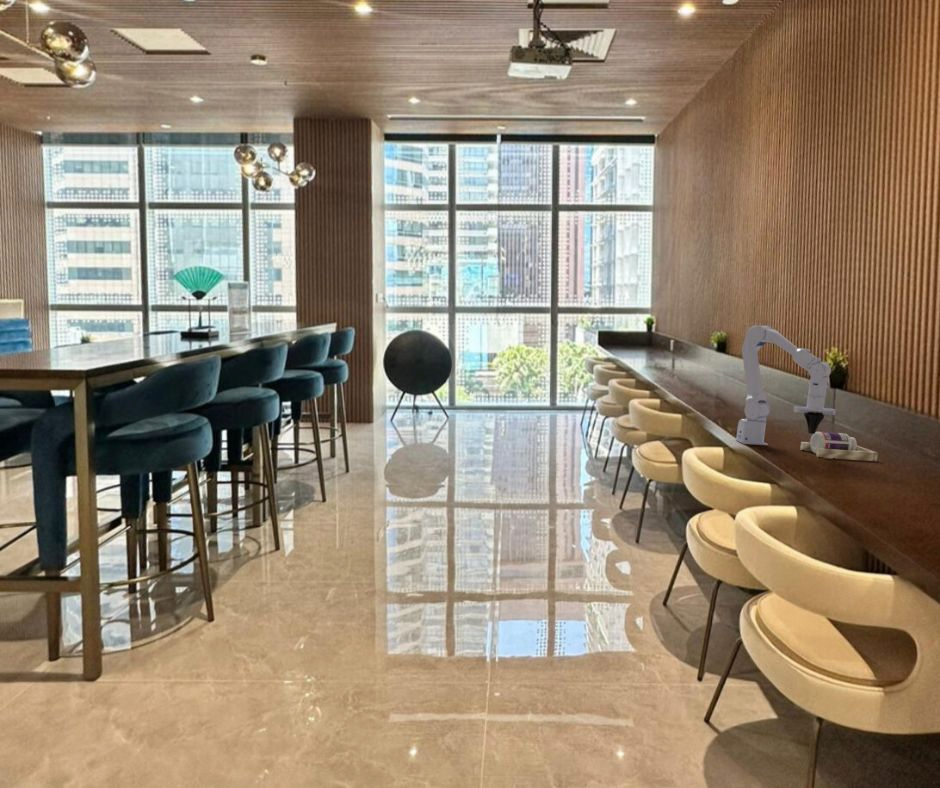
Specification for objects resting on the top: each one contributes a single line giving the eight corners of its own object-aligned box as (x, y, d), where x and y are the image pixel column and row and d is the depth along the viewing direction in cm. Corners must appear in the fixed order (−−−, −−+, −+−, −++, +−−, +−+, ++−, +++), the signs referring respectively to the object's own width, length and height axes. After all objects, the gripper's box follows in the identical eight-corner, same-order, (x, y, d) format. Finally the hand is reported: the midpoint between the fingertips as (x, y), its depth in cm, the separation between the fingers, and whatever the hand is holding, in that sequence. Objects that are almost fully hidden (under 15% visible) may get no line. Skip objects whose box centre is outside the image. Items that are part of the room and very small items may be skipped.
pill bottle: (809, 454, 285) (845, 457, 287) (821, 452, 277) (859, 455, 279) (808, 432, 286) (844, 435, 288) (821, 430, 278) (858, 432, 280)
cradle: (818, 457, 275) (819, 449, 275) (800, 449, 288) (801, 441, 288) (876, 461, 277) (877, 452, 277) (855, 453, 290) (857, 445, 289)
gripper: (802, 396, 274) (797, 434, 276) (842, 398, 275) (837, 436, 277) (792, 393, 281) (788, 430, 283) (831, 395, 282) (826, 433, 284)
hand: (811, 433), depth 281 cm, fingers closed
